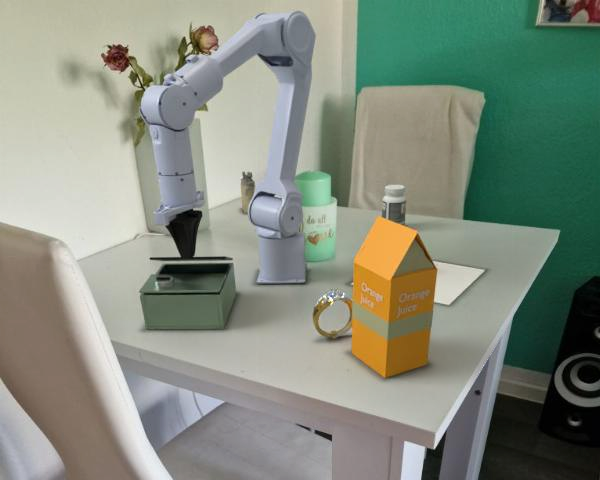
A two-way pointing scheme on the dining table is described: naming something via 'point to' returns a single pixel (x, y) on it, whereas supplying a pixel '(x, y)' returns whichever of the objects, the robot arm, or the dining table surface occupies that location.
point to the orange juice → (392, 299)
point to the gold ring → (320, 308)
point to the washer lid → (218, 258)
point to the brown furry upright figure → (247, 190)
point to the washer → (189, 296)
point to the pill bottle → (394, 204)
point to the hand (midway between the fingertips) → (187, 256)
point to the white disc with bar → (163, 281)
